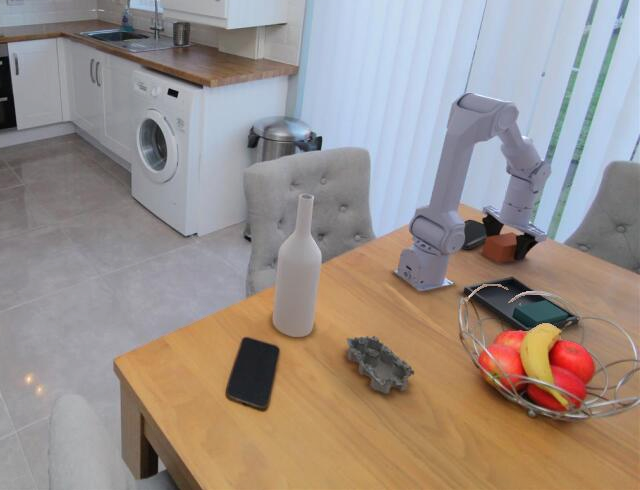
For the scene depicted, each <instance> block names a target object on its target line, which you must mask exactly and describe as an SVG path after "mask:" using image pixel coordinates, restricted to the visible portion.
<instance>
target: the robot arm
mask: <svg viewBox="0 0 640 490" xmlns="http://www.w3.org/2000/svg"><path fill="white" fill-rule="evenodd" d="M519 115H520V110H519V108H518V107H517V104H516V103H514V102H513V101H506V100H502V99H497V98H494V97H490V96H486V95H481V94H477V93H475V92H472V91H467V92H464V93H462V94H461V95H460V96H459V97H457V98H456V100H454V101H453V102H452V103H451V107H450V111H449V115H448V119H447V124H446V129H447V130H446V132H445V136H444V139H443V140H444V141H443V143H442V149H441V153H440V157H439V161H438V165H437V170H436V174H435V178H434V184H433V188H432V191H431V196H430V200H429V203H428V204H424V205H421V206H419V207H417V208H416V209H415V212H414V215H413V216H412V218H411V219H410V221H409V225H408V231H409V233H410V235H412V239H411V240H412V241H413V242H414V243H412V245H410V246H409V247H407V248H403V250H401V253H400V256H399V262H398V266H397V269H395V270H394V271H393V272H394V274H395V275H396V276H398V277H400V278H401V279H403V280H404V281H405V282H407V283H408V284H409V285H410V286H412V287H413V288H414V289H416V291H418V292H424V291H428V290H434V289H438V288H442V287H443V288H444V287H447V286H452V285H454V282H453V281H451V280H450V279H449V278H447V277H446V275H447V270H448V266H449V262H450V258H451V255H453V254H456V253H457V252H458V251H460V250H461V249H462V248H461V247H462V246H463V244H464V241H465V234H464V228H465V221H464V219H463V217H462V216H461V215H460V213H459V207H460V204H461V203H460V202H461V199H462V194H463V191H464V187H465V184H466V179H467V175H468V171H469V167H470V164H471V160H472V156H473V152H474V149H475V146H476V144H477V143H481V142H482V143H483V142H488V141H490V140H491V139H494V138H496V136H497V137H498V138H499V140H500V141H501V142H502V143H501V144H500V152H501V153H502V155H503V156H504V158H505V160H506V161H505V163H506V167H505V172H506V174H508V175H510V177H509V181H508V184H507V188H506V191H505V195H504V198H503V202H502V205H501V209H500V208H496V207H494V206H492V205H490V204H489V205H484V206H483V207H482V211H481V214H483V215H485V217H482V219H481V223H482V224H484V226H485V229H486V234H487V237H490V236H495V235H500V234H501V232H502V230H503V228H504V227H505V226H507V227H510V228H513V229H515V230H517V231H519V232H521V233H523V234H517V236H516V250H515V254H514V260H513V261H516V262H519V261H522V260H524V257H525V256H527V254H528V253H530V251H531V249H533V248H534V247H535V246H537V244H539V243H542V242H546V240H547V238H548V235H549V233H547V232H545V231H544V230H542V229H541V228H539V227H538V226H537V225H535V224H534V223H532V222H531V217H532V214H533V211H534V207H535V206H536V205H535V204H536V201H537V198H538V195H539V192H540V191H542V190H543V188H544V186H545V183H546V182H547V180H548V179H549V178H550V176H551V175H552V171H553V170H552V165H551V164H550V163H549V162H548V160H545V159H542V158H541V156H540V154H539V151H538V150H537V149H536V146H535V145H534V143H533V142H534V140H533V138H531V137H528V136H525V135H522V133H521V130H520V128H519V125H518V123H517V120H518V119H519ZM525 258H526V257H525Z"/></svg>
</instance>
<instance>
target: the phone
mask: <svg viewBox="0 0 640 490" xmlns="http://www.w3.org/2000/svg"><path fill="white" fill-rule="evenodd" d="M464 222H465V228H464V234H465V241H464V244H463V246H462V247H461V248H460V249H462V250H465V251H467V250H471V249H473V248H475V247H478V246H480V245H481V244H485V241H486V237H487V234H486V229H485V226H484V224H483V222H480V221H477V220H474V219H467V220H465V221H464Z"/></svg>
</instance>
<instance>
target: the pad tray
mask: <svg viewBox="0 0 640 490" xmlns="http://www.w3.org/2000/svg"><path fill="white" fill-rule="evenodd" d="M483 284H501V285H502V286H504V287H507V288H508V289H509V290H506V289H504V288H502V287H498V286H487V287H484V288H482V289H480V290H479V291H477V292H476V293H475V294H474V295H473V296H472V297H470V299H472V300H473V301H474V302H476V303H478V304H479V305H480V306H482V307H483V308H484V309H486V310H488V311H489V312H490V313H492V314H493V315H494V316H496V317H497V318H498V319H500V320H502V319H503V320H502V321H503V322H504V323H506V324H507V325H509V326H510V327H511V328H512V329H514V330H515V331H517V330H522V331H529V330H531V329H532V328H534V327H536V326H533V327H529V328H527V327H526V326H524V325H523V324H522V323H520V322H519V321H517V320H516V319H514V318H513V317H512V315H513V312H514V309H515V307H518V306H520V305H519V303H521V306H522V305H527V304H531V303H535V302H540V301H544V300H546V301H548V302H549V303H551V304H553V305H554V306H556V307H557V308H559V309H561V310H562V311H564V312H566V313H567V314H568V316H567V318H566V319H562V320H558V321H554V322H550V324H552V325H554V326H556V327H557V328H559V329H563V328H565V327H564V326H565V325H566V324H567V323H568V322H569V321H572V323H571V324H570V325H569V326H568V327H571V326H574V325H578V324H579V321H580V319H581V317H580V316H578V315H577V314H575V313H573V312H572V311H570V310H568V309H567V308H565V307H563V306H562V305H560V304H559V303H557V302H555V301H553V300H552V299H551V298H549V297H547V296H546V295H544V296H542V295H543V294H542V295H525V296H521V297H519V298H518V299H516V300H514V301H513V302H510V303H508V302H509V301H510V300H511V299H512V298H514V297H515V296H516V295H518V294H520V293H522V292H526V291H536V290H535V289H534V288H532V287H531V286H529V285H527V284H525V283H523V282H522V281H521V280H519V279H517V278H516V277H514V276H509V277H504V278H499V279H494V280H490V281H489V280H488V281H486V282H481V283H476V284H472V285H467V286H464V288H463V293H464V294H465V295H466V296H468V295H470V294H471V293H472V292H473V291H474V290H475V289H477V288H478V287H480V286H482V285H483ZM577 318H580V319H579V320H577Z"/></svg>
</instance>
